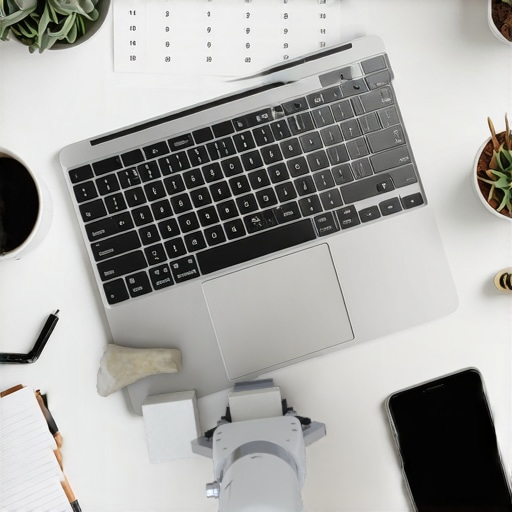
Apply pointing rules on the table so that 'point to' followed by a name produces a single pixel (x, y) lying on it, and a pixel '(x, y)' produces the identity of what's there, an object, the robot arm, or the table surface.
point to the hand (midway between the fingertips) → (257, 414)
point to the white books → (171, 425)
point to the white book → (255, 404)
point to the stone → (133, 366)
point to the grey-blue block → (253, 385)
